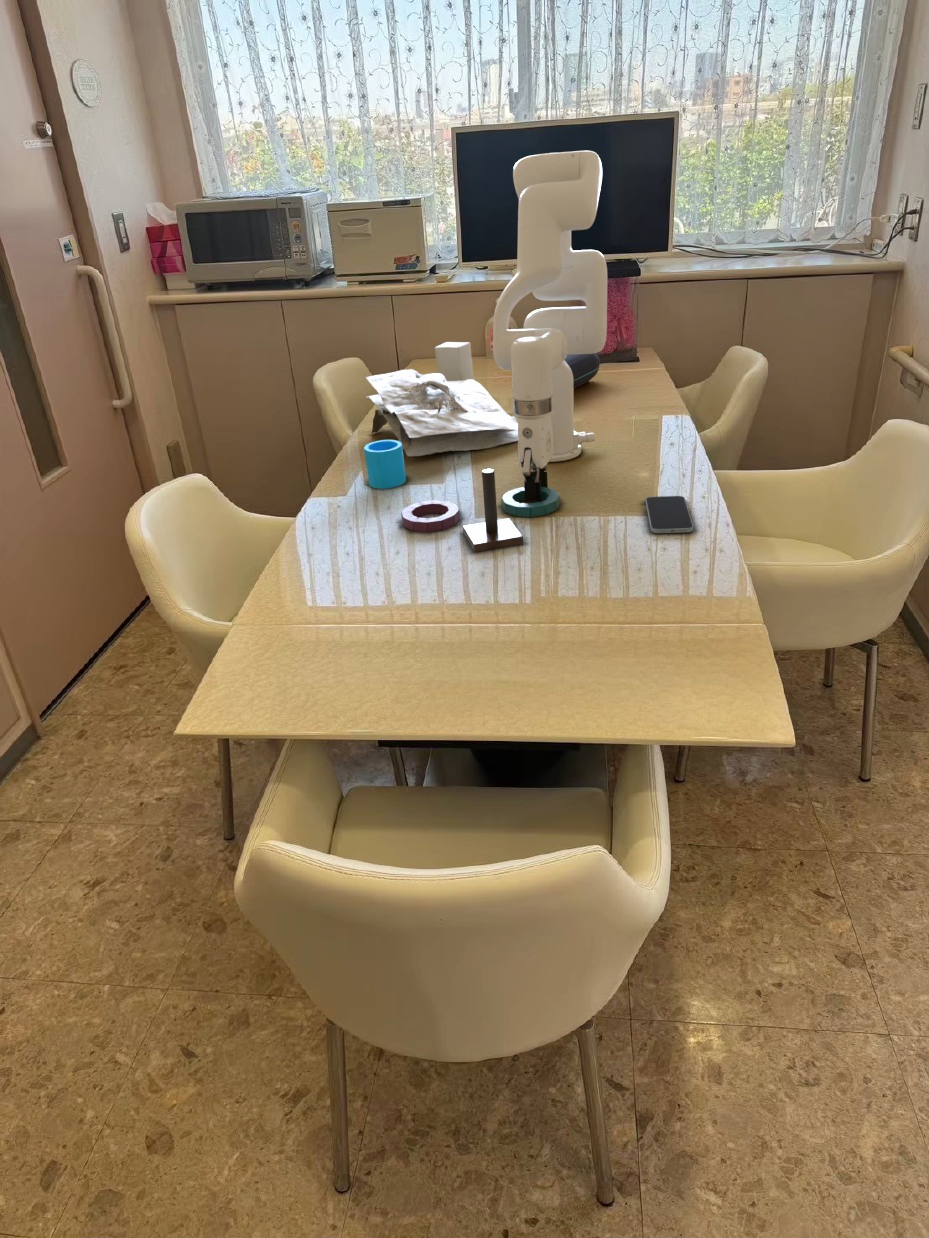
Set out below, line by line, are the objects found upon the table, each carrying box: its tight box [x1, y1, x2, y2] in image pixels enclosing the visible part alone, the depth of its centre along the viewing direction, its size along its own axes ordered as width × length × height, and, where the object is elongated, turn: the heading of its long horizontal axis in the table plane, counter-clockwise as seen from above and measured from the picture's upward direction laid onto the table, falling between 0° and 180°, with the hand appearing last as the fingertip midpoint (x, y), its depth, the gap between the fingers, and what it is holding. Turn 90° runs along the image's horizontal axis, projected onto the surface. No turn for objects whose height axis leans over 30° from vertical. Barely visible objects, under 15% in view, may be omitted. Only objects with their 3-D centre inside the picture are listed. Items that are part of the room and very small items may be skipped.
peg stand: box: [462, 468, 524, 553], centre depth 148 cm, size 9×9×13 cm
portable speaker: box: [565, 353, 601, 390], centre depth 234 cm, size 25×10×10 cm, turn 144°
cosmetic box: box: [434, 341, 475, 381], centre depth 232 cm, size 8×7×16 cm
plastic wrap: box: [365, 368, 518, 457], centre depth 206 cm, size 35×16×32 cm
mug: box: [363, 439, 407, 489], centre depth 181 cm, size 12×8×8 cm
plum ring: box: [400, 499, 461, 533], centre depth 161 cm, size 11×11×2 cm
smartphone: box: [645, 495, 694, 534], centre depth 153 cm, size 7×1×15 cm
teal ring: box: [501, 486, 561, 518], centre depth 163 cm, size 11×11×2 cm
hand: (536, 494), depth 167 cm, fingers open, 4 cm apart
